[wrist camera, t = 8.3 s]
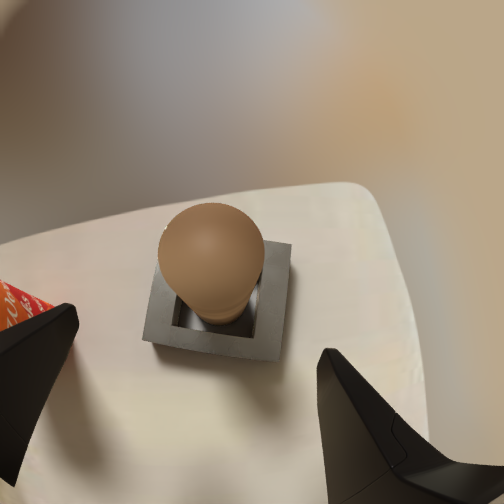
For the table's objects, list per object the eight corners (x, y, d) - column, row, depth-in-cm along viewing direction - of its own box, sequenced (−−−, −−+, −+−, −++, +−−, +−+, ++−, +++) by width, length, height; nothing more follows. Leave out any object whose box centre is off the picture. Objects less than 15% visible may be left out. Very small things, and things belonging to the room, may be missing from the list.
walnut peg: (242, 329, 22) (258, 312, 11) (188, 321, 22) (147, 294, 11) (250, 275, 24) (269, 208, 12) (197, 267, 23) (171, 195, 12)
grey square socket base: (273, 360, 22) (279, 362, 19) (151, 340, 21) (141, 339, 19) (285, 254, 24) (292, 243, 22) (171, 237, 24) (165, 225, 22)
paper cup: (85, 376, 20) (-35, 386, 6) (25, 372, 19) (-84, 367, 5) (78, 289, 22) (-31, 230, 9) (21, 295, 21) (-80, 250, 8)
